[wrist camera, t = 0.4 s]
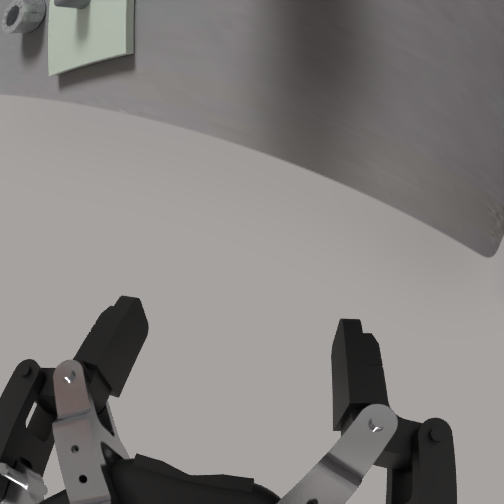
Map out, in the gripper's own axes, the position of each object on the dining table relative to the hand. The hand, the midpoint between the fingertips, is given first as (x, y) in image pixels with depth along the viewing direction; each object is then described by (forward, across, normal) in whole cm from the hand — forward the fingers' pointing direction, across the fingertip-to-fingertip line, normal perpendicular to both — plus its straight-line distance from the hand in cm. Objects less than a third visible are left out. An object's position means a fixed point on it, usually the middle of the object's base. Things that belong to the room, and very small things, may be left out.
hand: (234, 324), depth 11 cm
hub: (+28, +38, -27) cm, 54 cm away
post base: (+28, +25, -24) cm, 45 cm away
